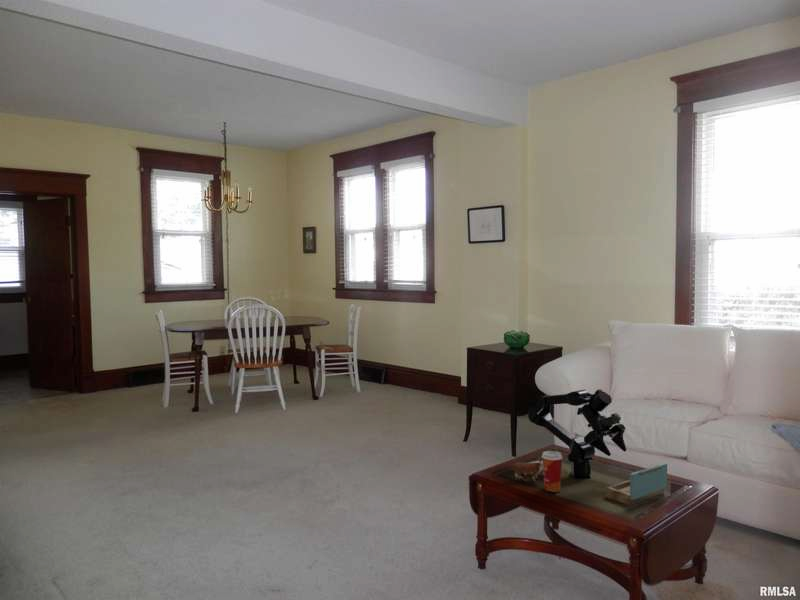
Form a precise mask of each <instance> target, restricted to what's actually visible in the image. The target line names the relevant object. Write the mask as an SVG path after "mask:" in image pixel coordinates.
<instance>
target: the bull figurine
mask: <svg viewBox="0 0 800 600" xmlns="http://www.w3.org/2000/svg"><path fill="white" fill-rule="evenodd" d="M512 470H513V472H514V477H515V476H516V477H517V478H519V479H520V478H522V479H523V476H522V473H523V474H524V475H525V476H527V475H528V474H531V475H532V479H535V477H537V478H538V475H539V474H540V473H541V472H542V471H543V460H541V461H539V460H535V461H529V462H523V461H522V462H521V461H518V462H517V461H515V462H513V463H512ZM517 478H516V479H517ZM535 480H536V479H535Z"/></svg>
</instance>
